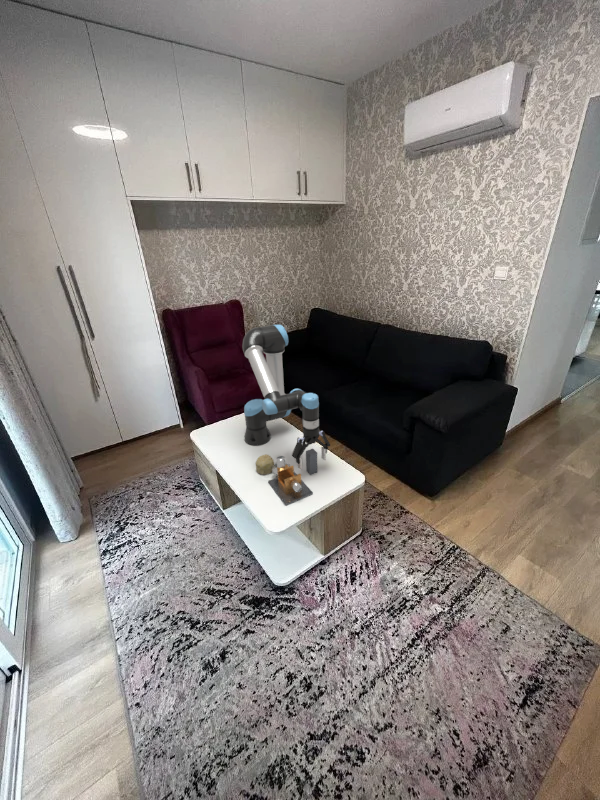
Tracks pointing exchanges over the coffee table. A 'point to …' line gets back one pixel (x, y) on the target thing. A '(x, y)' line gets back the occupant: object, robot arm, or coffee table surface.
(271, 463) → the decorative object
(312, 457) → the dark gray rectangular block
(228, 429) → the coffee table surface
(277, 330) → the robot arm
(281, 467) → the multicoloured piece
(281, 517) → the coffee table surface
